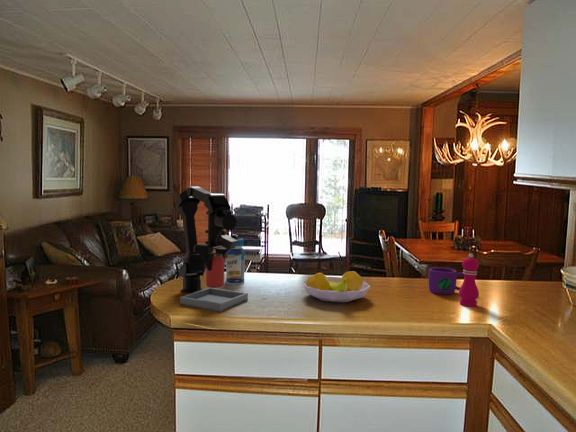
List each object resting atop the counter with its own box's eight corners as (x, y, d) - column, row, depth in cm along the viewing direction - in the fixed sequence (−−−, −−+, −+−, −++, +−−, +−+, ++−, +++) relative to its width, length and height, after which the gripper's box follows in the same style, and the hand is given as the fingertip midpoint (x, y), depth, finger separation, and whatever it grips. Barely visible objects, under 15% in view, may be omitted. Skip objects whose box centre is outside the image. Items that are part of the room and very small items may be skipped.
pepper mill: (477, 303, 176) (480, 252, 175) (478, 308, 170) (481, 255, 168) (457, 301, 179) (460, 251, 177) (458, 305, 172) (461, 254, 171)
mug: (430, 295, 188) (431, 271, 187) (425, 288, 199) (426, 266, 198) (473, 297, 186) (475, 273, 185) (466, 290, 197) (467, 268, 196)
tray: (179, 304, 165) (180, 297, 164) (209, 294, 181) (209, 287, 181) (220, 311, 157) (220, 304, 157) (247, 300, 173) (247, 293, 173)
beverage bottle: (248, 283, 202) (249, 239, 200) (233, 286, 195) (234, 240, 194) (236, 280, 207) (237, 237, 206) (221, 282, 201) (222, 238, 200)
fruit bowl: (307, 288, 195) (307, 262, 194) (370, 293, 189) (371, 266, 188) (294, 305, 167) (295, 275, 166) (368, 311, 162) (369, 280, 161)
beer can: (220, 288, 165) (220, 256, 164) (203, 287, 166) (203, 255, 165) (226, 284, 171) (226, 253, 170) (209, 283, 172) (210, 252, 171)
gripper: (219, 231, 155) (218, 276, 156) (247, 226, 171) (246, 267, 173) (193, 229, 160) (192, 272, 161) (223, 224, 176) (222, 264, 178)
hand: (215, 269), depth 168 cm, fingers closed on beer can, 7 cm apart
